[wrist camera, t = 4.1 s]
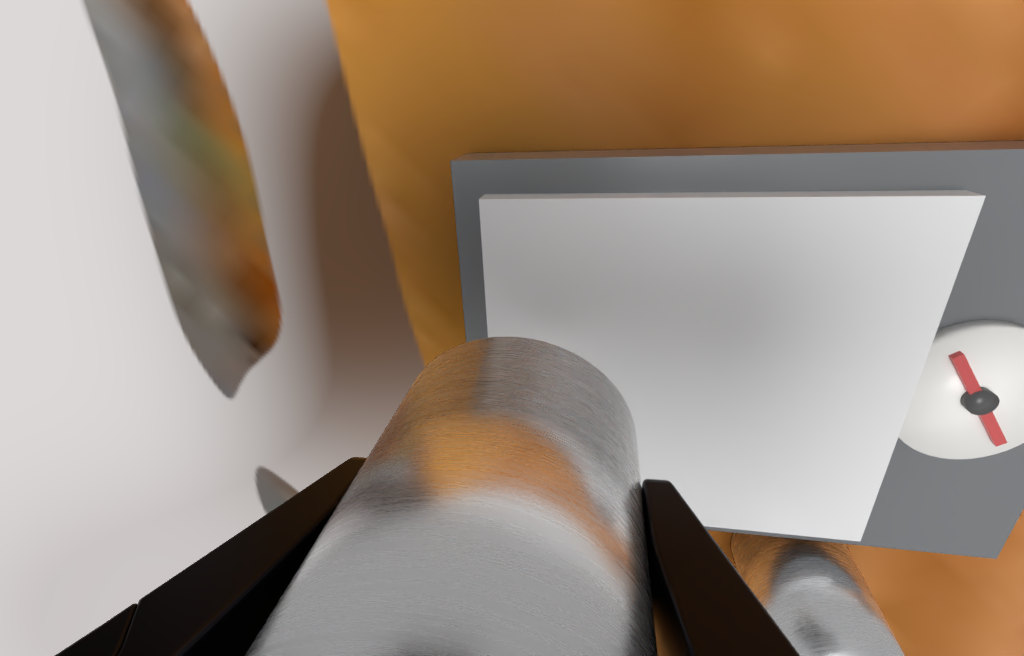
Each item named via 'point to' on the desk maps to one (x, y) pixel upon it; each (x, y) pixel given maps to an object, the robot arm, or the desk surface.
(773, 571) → the spacer
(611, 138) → the desk surface
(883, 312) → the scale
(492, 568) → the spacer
